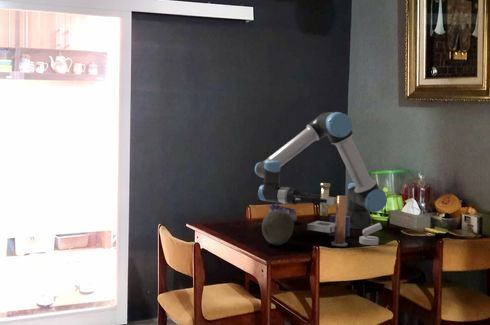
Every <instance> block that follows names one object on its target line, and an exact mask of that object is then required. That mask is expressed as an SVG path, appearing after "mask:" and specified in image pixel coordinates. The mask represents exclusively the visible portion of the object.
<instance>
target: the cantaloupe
mask: <svg viewBox="0 0 490 325" xmlns="http://www.w3.org/2000/svg"><path fill="white" fill-rule="evenodd" d="M268 212H269V211H268ZM268 212H267V214H265V216H264V217H263V220H262V223H261V232H262V236H263V237H264V238H265V240H266V241H267V242H268V243H269V244H270V245H273V246H277V247H278V246H282V245H284V244H285V243H287V242H288V241H289V239H290V238H291V237H292V235H293V232H294V227H295V225H294V224H295V223H294V222H293V219H292V218H291V216H290V215H289V214H288V213H286V212H283V211H271V212H269V213H268Z"/></svg>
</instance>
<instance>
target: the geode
mask: <svg viewBox="0 0 490 325" xmlns="http://www.w3.org/2000/svg"><path fill="white" fill-rule="evenodd" d="M268 207H269V209H268V212H267V214H268V213H269V212H271V211H283V212H286V213H288V214H289V215H290V216H291V218H292V219H293V222H297V218H298V216H297V211H296V209H295V208H290V207H285V206H282V205H280V204H279V203H277V202H276V203H275V204H274V203H272V204H271V205H269V206H268Z"/></svg>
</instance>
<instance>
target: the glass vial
mask: <svg viewBox="0 0 490 325" xmlns="http://www.w3.org/2000/svg"><path fill="white" fill-rule="evenodd" d="M320 188H321V189H320V195H321V197H323V198H329V197H330V188H331V183H329V182H328V183H327V182H321V183H320ZM319 208H320V209H319V211H320V212H319V216H321V217H328V216H329V204H321V203H320V207H319Z"/></svg>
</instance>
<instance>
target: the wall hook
mask: <svg viewBox="0 0 490 325" xmlns="http://www.w3.org/2000/svg"><path fill="white" fill-rule="evenodd" d="M382 229H383V226H382V224H381V223H380V222H377V223H375V224H372V226H370V227H368V228H365V229H362V235H361V236H359V239H358V240H359V241H358V242H359V243H360V244H361V245H366V246H378V245H379V244H380V241H379V240H380V238H379V237H378V236H373V235H371V234H374V233H375V232H377V231H380V230H382Z"/></svg>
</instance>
